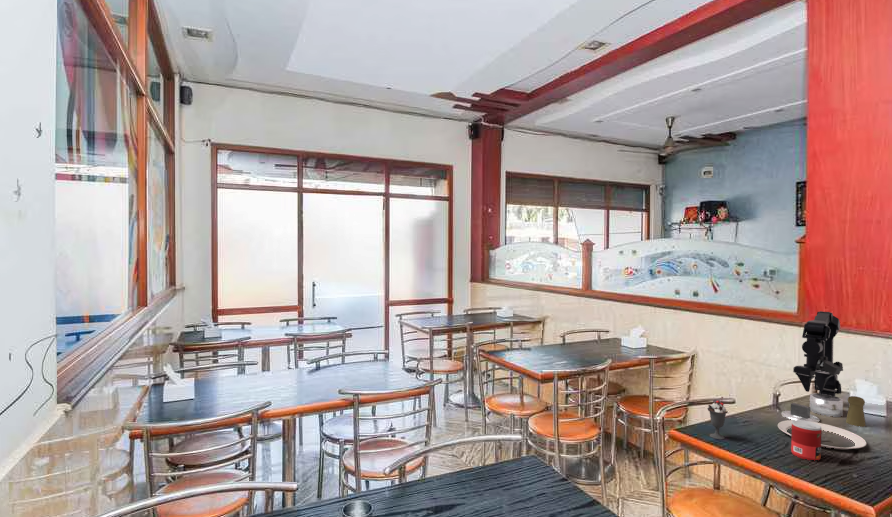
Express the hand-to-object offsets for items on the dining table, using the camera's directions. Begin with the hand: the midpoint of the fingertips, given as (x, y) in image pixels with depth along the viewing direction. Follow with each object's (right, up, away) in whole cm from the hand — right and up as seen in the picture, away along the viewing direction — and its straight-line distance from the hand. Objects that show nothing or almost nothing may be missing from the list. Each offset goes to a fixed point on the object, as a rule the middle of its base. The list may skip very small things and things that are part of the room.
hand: (814, 390), depth 186 cm
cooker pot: (+14, -13, +11) cm, 22 cm away
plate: (-11, -13, -16) cm, 23 cm away
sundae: (-49, -13, -16) cm, 53 cm away
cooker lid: (-2, -13, +5) cm, 14 cm away
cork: (+15, -13, -2) cm, 20 cm away
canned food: (-28, -13, -31) cm, 44 cm away
